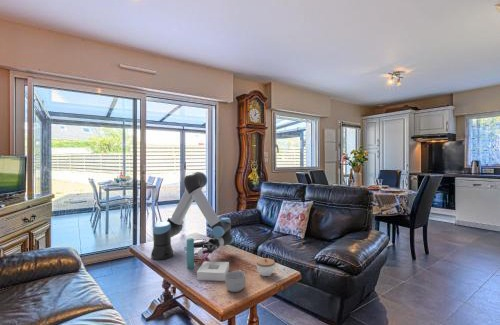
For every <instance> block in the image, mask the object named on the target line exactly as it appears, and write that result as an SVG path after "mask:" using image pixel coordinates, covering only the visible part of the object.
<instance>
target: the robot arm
mask: <svg viewBox="0 0 500 325" xmlns="http://www.w3.org/2000/svg"><path fill="white" fill-rule="evenodd" d="M207 184H208V177H207V175H206V174H205V173H204V172H201V171H195V172H190V173H188V174H186V175H185V176H184V179H183V186H184V188H185V190H184V192H183V194H182V196H181V198H180V200H179V202H178V204H177V205H176V208H175V209H174V211H173V213H172V215H169V217H168V218H167V220H166V221H160V222H156V223H155V224H154V225H153V227H152V228H153V230H152V233H153V234H152V235H153V248H152V249H151V250H152V251H151V254H150V259H152V260H154V259H156V261H162V260H163V261H164V260H168V259H171V258H173V257H174V249H173V246H172V240H171V239H172V238H173V237H175V236H176V235H178V234H180V233H181V232H182V230H183V224H184V219H185V216H186V215H187V213H188V210H189V209H190V208H191V205H192V204H193V202H195V204H196V205H197V207H198V209H199V210H200V212H201V213H202V215H203V216H204V218H205V220H206V221H207V224H208V225H209V226H210V229H211V234H212V237H211V238H210V239H209V240H208V241H204V240H202V241H197V242H194V249H197V248H198V249H199V248H202V249H201V250H199V251H198V250H197V256H198V257H200V256H203V255H205V254H212V253H213V252H214V251H216V250H217V249H220V248H221V247H225V246H227V245H228V246H229V245H231V244H232V243H233V242H234V241H235V236H234V234H233V233H232V232H231V230H232V229H231V228H232V226H231V225H232V224H231V223H232V221H231V218H230V217H220V218H219V217H218V215H217V213H216V212H215V210H214V209H213V207H212V205H211V204H210V202H209V200H208V198H207V197H206V195H205V194H204V192H203V188H204V187H205V186H206V185H207ZM183 248H184V250H183V251H184V252H187V245H185V246H184V247H183Z"/></svg>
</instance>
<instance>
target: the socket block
mask: <svg viewBox="0 0 500 325" xmlns="http://www.w3.org/2000/svg"><path fill="white" fill-rule="evenodd" d="M228 272H230V262H229V261H206V260H205V261H202V264H201V265H200V267H199V268H198V270H197V271H196V281H218V282H222V281H223V282H225V274H226V273H228Z"/></svg>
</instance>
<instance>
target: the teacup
mask: <svg viewBox="0 0 500 325" xmlns="http://www.w3.org/2000/svg"><path fill="white" fill-rule="evenodd" d="M224 282H225V288H226V289H227V290H228V291H229V292H231V293H238V292H240V291H242V290H243V289H244V288H245V286H246V273H245V272H244V271H243V269H238V270H231V271H228V273H226V274H225V281H224Z"/></svg>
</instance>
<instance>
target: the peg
mask: <svg viewBox="0 0 500 325" xmlns="http://www.w3.org/2000/svg"><path fill="white" fill-rule="evenodd" d="M194 239H195V238H192V237H191V238H190V237H189V238H187V239H186V246H187V251H186V269H187V270H192V269H194V268H195V248H194V243H195V240H194Z"/></svg>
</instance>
